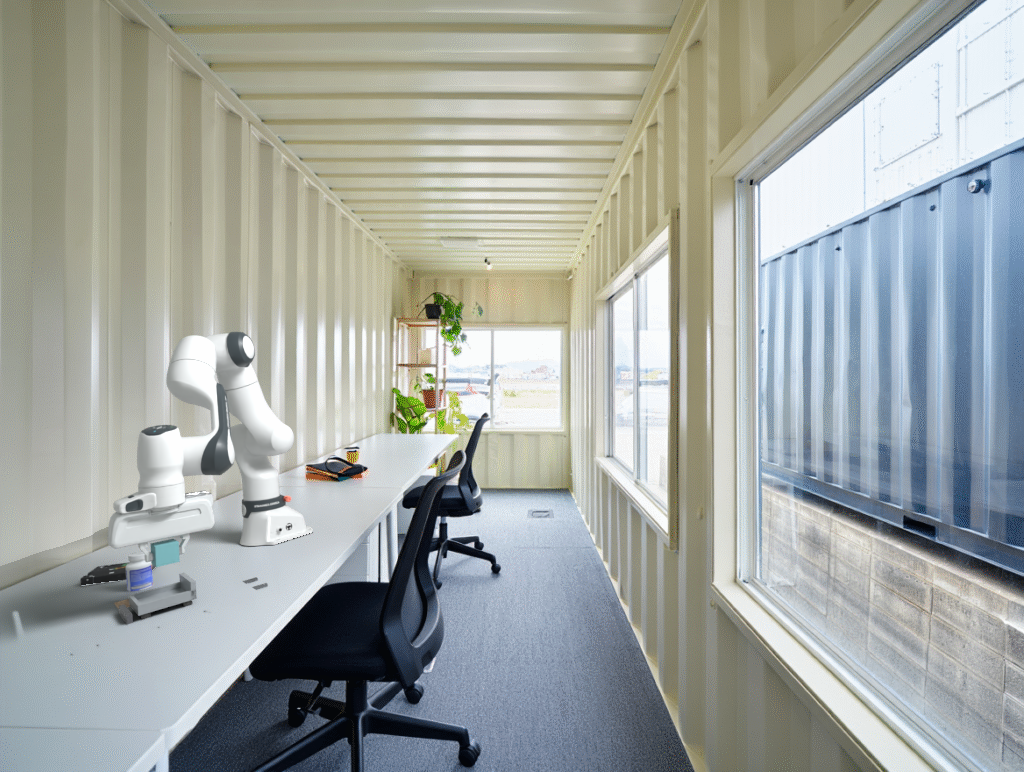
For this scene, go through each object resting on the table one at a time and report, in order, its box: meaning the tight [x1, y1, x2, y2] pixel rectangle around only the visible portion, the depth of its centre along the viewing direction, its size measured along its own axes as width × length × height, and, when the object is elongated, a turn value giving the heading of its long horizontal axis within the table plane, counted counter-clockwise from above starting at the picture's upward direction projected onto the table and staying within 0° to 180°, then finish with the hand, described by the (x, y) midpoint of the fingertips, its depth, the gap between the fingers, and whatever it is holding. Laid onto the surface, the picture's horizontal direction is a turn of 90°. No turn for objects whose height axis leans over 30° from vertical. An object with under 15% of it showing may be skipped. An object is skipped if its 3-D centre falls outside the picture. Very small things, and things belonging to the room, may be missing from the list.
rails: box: [118, 577, 269, 625], centre depth 123 cm, size 29×8×3 cm, turn 137°
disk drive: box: [80, 561, 156, 586], centre depth 144 cm, size 10×3×15 cm
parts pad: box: [113, 598, 131, 610], centre depth 123 cm, size 9×6×1 cm, turn 137°
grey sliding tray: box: [128, 572, 197, 620], centre depth 118 cm, size 11×9×6 cm
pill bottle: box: [125, 550, 154, 592], centre depth 131 cm, size 5×5×10 cm
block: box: [149, 538, 181, 568], centre depth 118 cm, size 4×4×4 cm
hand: (165, 557), depth 118 cm, fingers closed on block, 4 cm apart
